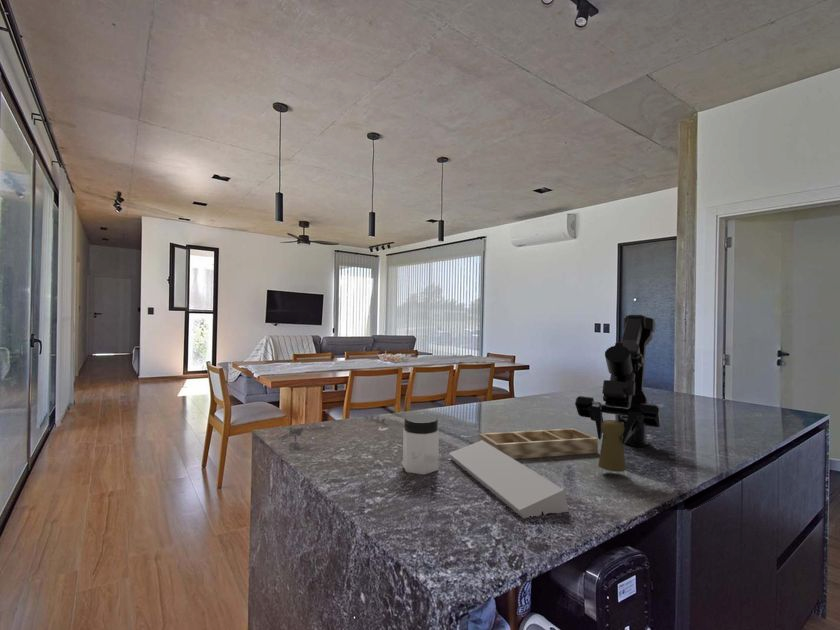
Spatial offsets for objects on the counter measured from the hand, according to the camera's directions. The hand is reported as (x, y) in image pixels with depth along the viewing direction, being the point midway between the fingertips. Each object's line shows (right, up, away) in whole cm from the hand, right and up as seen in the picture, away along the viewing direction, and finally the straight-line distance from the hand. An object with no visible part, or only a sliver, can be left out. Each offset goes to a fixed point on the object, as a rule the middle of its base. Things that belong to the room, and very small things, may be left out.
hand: (611, 440), depth 100 cm
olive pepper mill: (+1, -7, +1) cm, 7 cm away
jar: (-45, -8, +2) cm, 46 cm away
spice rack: (-12, -8, +19) cm, 24 cm away
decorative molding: (-27, -9, -5) cm, 29 cm away
